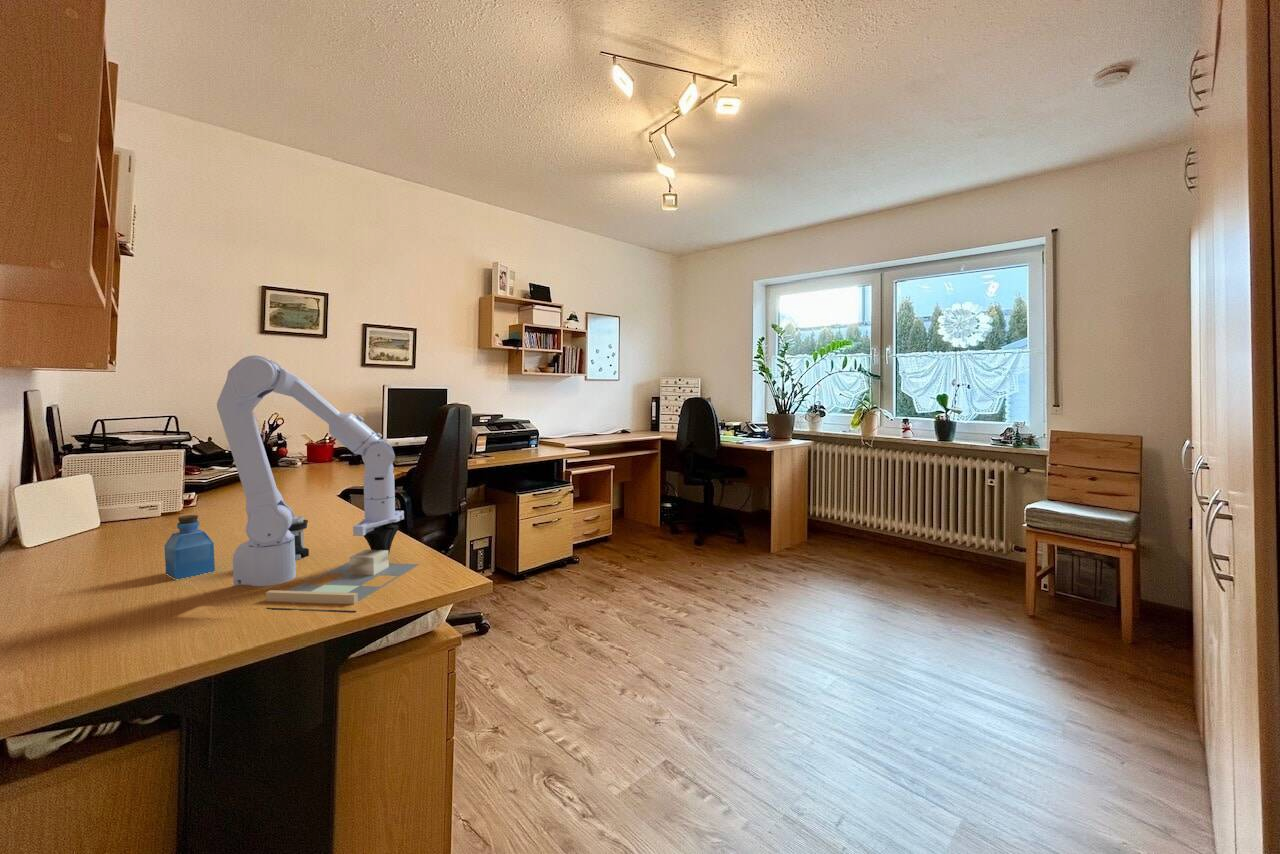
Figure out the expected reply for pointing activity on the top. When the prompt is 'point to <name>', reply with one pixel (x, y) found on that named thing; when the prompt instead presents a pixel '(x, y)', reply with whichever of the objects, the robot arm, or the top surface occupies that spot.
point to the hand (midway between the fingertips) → (381, 561)
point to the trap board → (336, 588)
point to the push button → (299, 537)
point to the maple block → (369, 562)
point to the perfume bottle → (189, 550)
